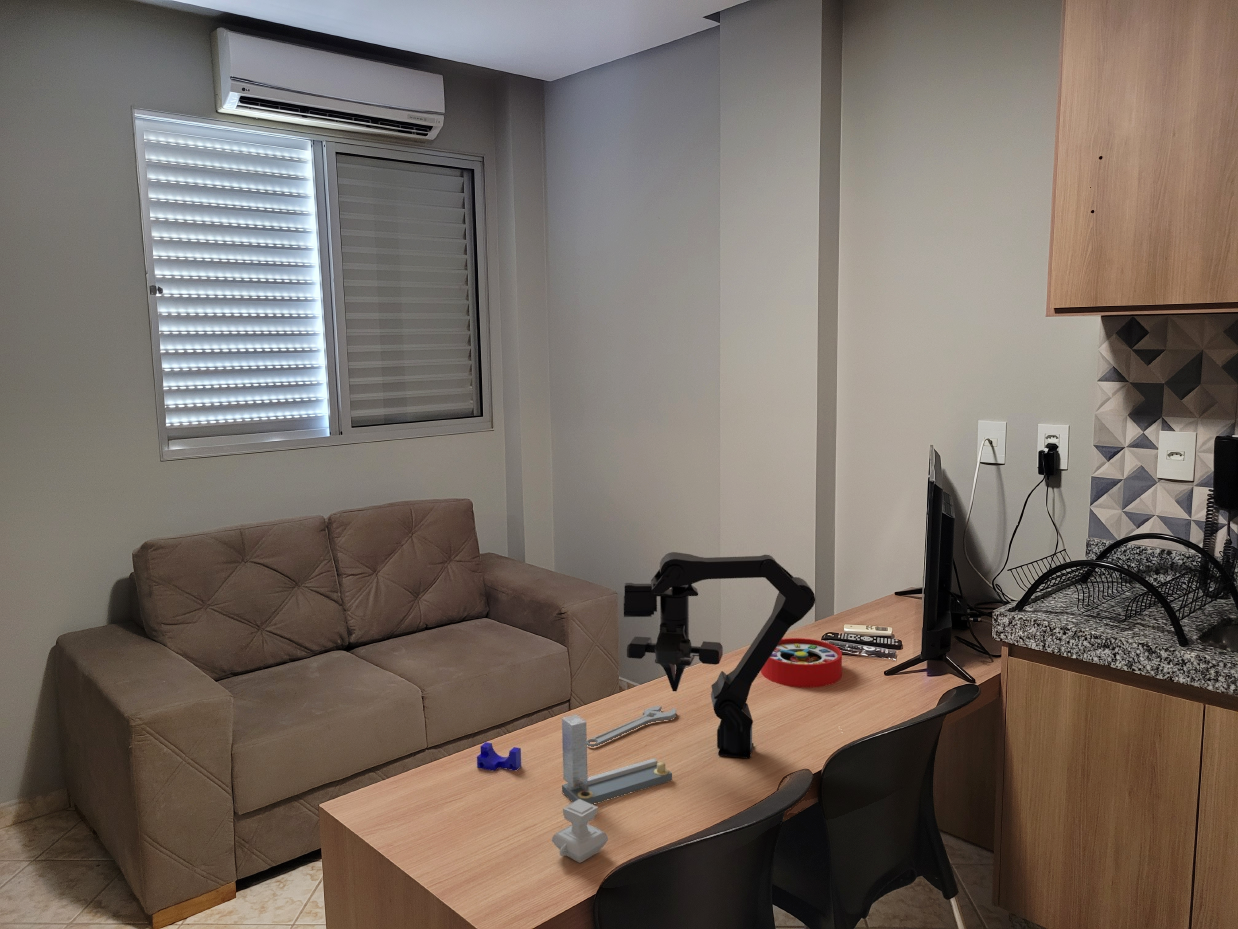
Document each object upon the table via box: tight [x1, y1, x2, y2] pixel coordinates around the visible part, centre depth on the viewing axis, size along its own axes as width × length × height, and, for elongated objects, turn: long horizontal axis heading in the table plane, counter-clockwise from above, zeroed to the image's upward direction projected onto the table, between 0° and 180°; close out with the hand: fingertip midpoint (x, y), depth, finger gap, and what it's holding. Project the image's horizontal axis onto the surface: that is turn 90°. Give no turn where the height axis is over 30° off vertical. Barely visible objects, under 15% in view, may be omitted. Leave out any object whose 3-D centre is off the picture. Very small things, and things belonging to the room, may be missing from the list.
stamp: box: [551, 799, 609, 864], centre depth 146 cm, size 9×7×8 cm
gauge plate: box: [561, 757, 673, 805], centre depth 169 cm, size 20×7×3 cm, turn 120°
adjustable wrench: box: [587, 705, 677, 747], centre depth 195 cm, size 25×6×2 cm, turn 129°
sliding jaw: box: [561, 713, 589, 793], centre depth 164 cm, size 3×6×13 cm, turn 30°
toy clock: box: [760, 637, 843, 688], centre depth 225 cm, size 20×6×20 cm
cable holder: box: [476, 741, 522, 771], centre depth 178 cm, size 8×4×4 cm, turn 68°
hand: (675, 690), depth 181 cm, fingers closed
